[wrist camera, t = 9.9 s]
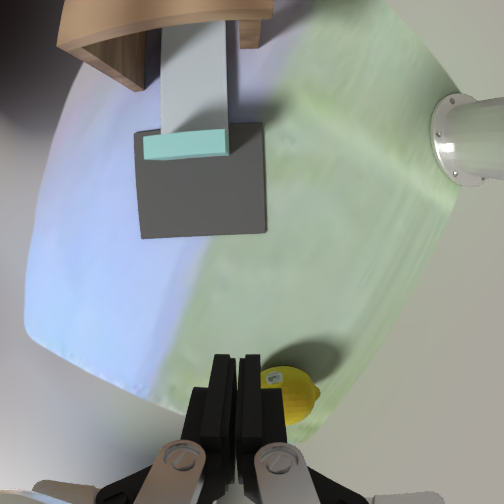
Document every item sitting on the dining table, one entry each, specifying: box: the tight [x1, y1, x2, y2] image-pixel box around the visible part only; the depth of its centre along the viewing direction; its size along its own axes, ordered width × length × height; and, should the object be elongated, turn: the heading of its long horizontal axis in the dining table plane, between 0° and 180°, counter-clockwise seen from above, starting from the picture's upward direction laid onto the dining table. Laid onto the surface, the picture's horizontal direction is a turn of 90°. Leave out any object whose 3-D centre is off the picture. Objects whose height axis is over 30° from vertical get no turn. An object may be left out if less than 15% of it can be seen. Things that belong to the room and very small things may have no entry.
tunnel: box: [57, 0, 274, 92], centre depth 20 cm, size 14×10×16 cm
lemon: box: [261, 366, 320, 426], centre depth 36 cm, size 11×8×8 cm
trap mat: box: [134, 123, 265, 239], centre depth 32 cm, size 14×12×1 cm
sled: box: [143, 20, 229, 160], centre depth 25 cm, size 8×22×7 cm, turn 2°
